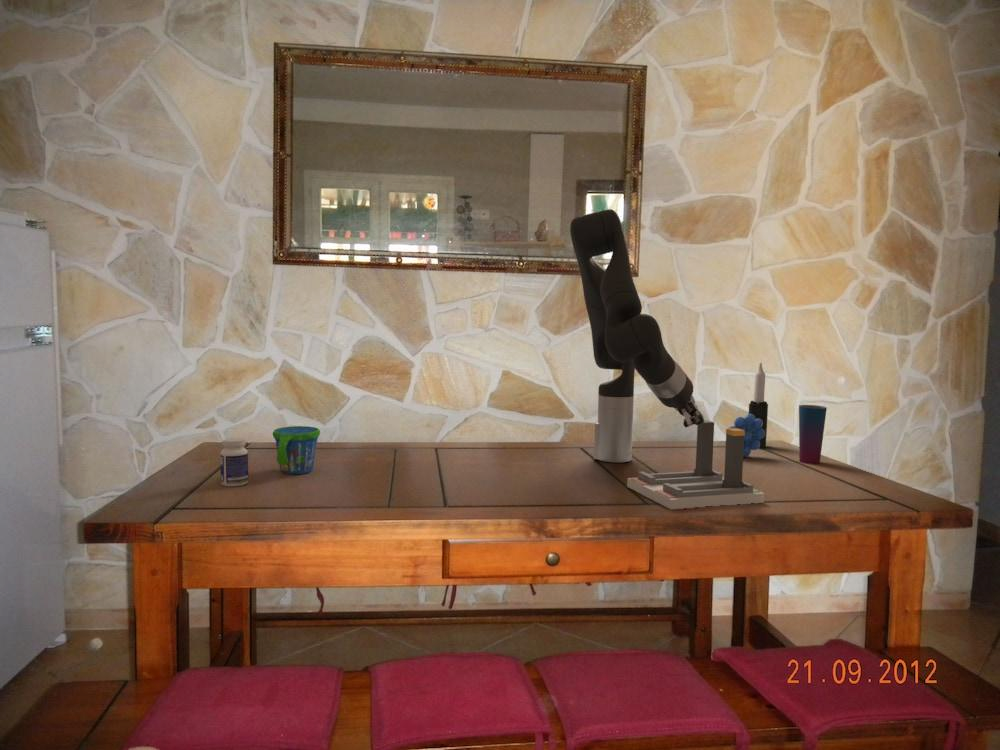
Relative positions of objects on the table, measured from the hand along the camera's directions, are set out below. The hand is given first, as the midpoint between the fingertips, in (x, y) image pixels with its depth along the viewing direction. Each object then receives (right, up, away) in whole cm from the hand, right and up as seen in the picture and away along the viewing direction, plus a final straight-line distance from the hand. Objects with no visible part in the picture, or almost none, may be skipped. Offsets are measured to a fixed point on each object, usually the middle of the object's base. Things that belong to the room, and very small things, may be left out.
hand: (699, 420), depth 160 cm
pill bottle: (-103, -14, 0) cm, 104 cm away
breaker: (+5, -14, -6) cm, 16 cm away
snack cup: (-92, -13, +13) cm, 94 cm away
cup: (+39, -13, +35) cm, 54 cm away
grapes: (+23, -13, +41) cm, 49 cm away
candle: (+33, -11, +56) cm, 66 cm away
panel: (-2, -16, -2) cm, 16 cm away
